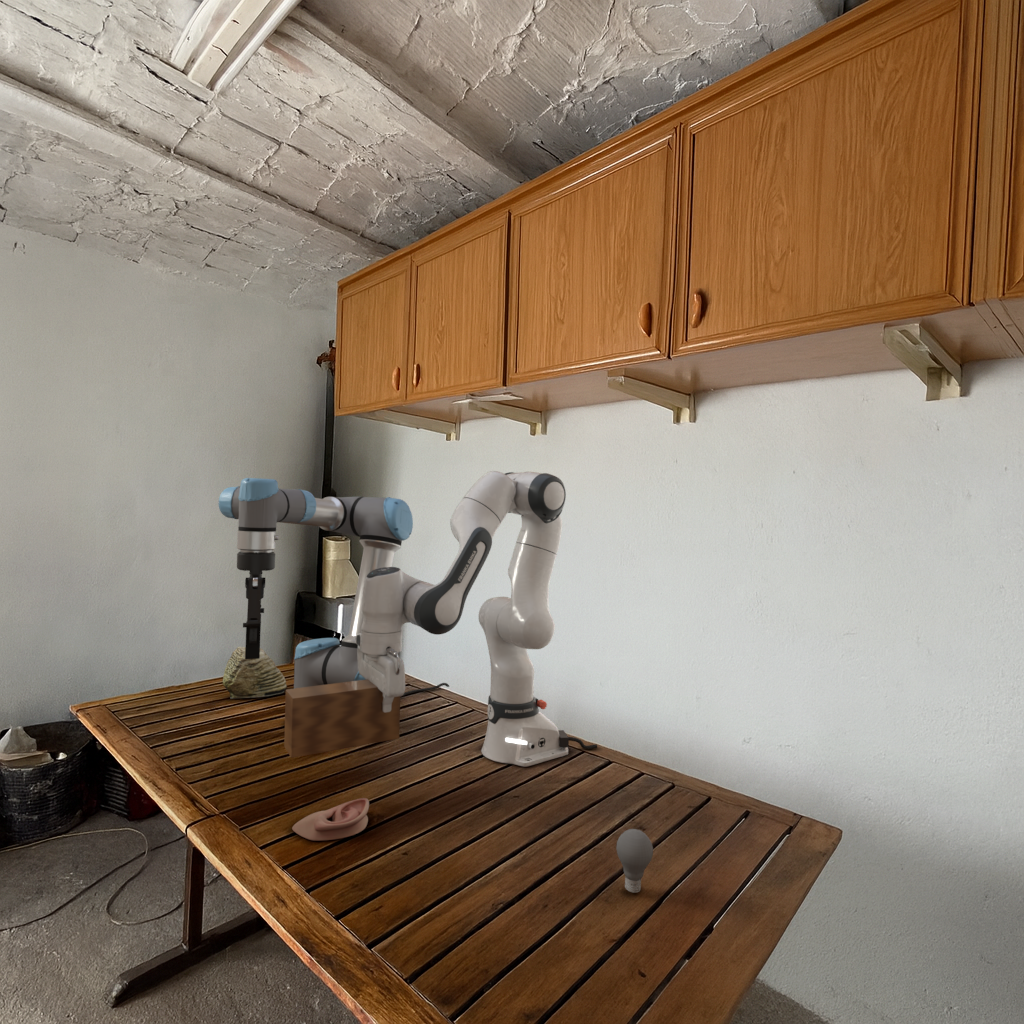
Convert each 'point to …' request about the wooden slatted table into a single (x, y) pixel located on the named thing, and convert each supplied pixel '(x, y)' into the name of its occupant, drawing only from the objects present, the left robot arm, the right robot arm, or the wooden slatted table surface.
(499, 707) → the right robot arm
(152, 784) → the wooden slatted table surface
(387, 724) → the box
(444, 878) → the wooden slatted table surface
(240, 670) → the fossil
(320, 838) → the anatomical model
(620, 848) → the light bulb
